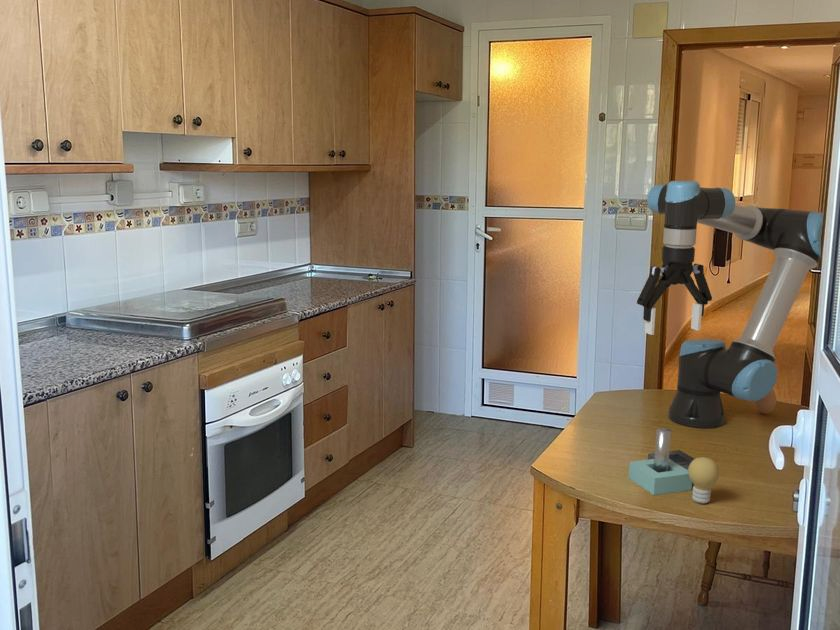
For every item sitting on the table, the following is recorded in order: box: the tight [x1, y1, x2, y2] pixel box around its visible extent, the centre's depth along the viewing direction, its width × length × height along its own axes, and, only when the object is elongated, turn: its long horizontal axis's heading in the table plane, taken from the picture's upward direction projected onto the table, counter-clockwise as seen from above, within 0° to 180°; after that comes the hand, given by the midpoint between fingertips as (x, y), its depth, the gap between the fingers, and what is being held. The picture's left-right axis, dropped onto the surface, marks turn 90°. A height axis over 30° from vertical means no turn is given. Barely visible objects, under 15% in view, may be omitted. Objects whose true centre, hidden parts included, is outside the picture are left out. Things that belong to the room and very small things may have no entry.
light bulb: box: [688, 456, 720, 504], centre depth 182 cm, size 6×6×10 cm
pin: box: [653, 427, 672, 473], centre depth 191 cm, size 3×3×13 cm
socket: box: [628, 459, 693, 496], centre depth 192 cm, size 10×10×4 cm
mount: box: [647, 449, 695, 470], centre depth 201 cm, size 9×9×2 cm
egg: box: [754, 388, 777, 415], centre depth 243 cm, size 6×6×8 cm
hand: (672, 331), depth 206 cm, fingers open, 13 cm apart
